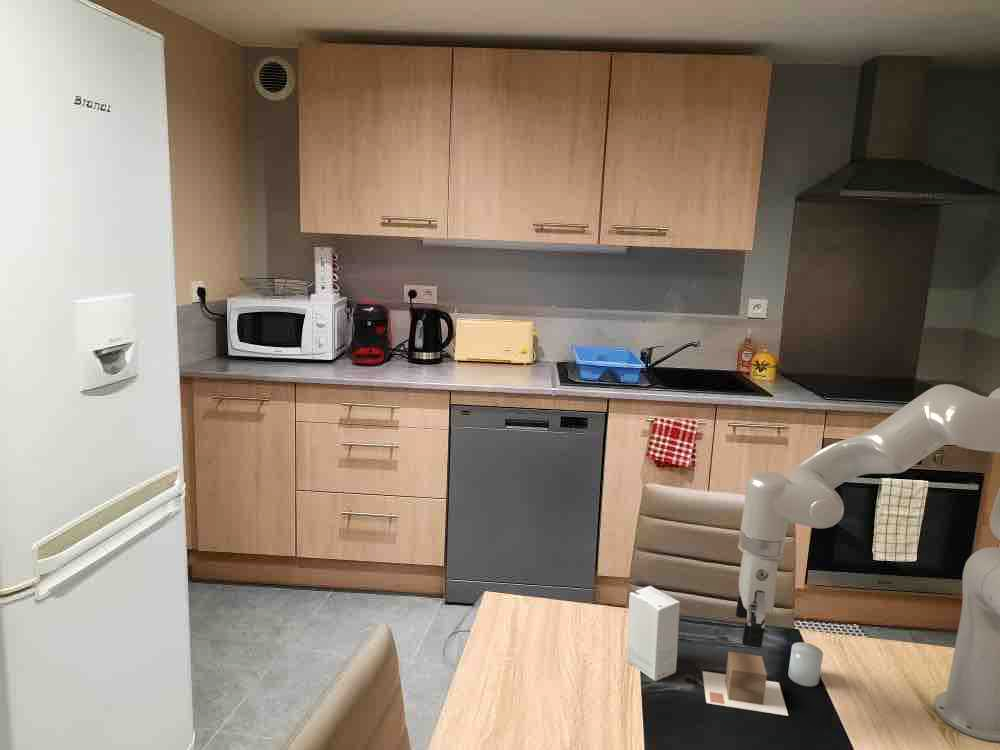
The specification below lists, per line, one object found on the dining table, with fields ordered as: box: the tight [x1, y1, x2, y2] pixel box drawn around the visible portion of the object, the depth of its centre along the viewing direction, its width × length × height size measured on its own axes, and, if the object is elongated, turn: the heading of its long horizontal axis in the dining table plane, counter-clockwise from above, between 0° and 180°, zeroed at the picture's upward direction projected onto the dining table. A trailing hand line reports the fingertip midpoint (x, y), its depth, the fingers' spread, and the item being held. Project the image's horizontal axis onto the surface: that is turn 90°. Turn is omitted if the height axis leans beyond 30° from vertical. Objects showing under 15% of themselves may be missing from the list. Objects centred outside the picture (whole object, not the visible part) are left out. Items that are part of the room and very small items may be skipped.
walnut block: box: [725, 651, 768, 705], centre depth 138 cm, size 6×6×6 cm
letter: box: [701, 670, 789, 717], centre depth 138 cm, size 14×10×1 cm
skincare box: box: [625, 585, 681, 682], centre depth 144 cm, size 8×6×15 cm
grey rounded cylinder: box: [787, 641, 824, 687], centre depth 143 cm, size 6×6×6 cm
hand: (747, 631), depth 136 cm, fingers open, 9 cm apart
